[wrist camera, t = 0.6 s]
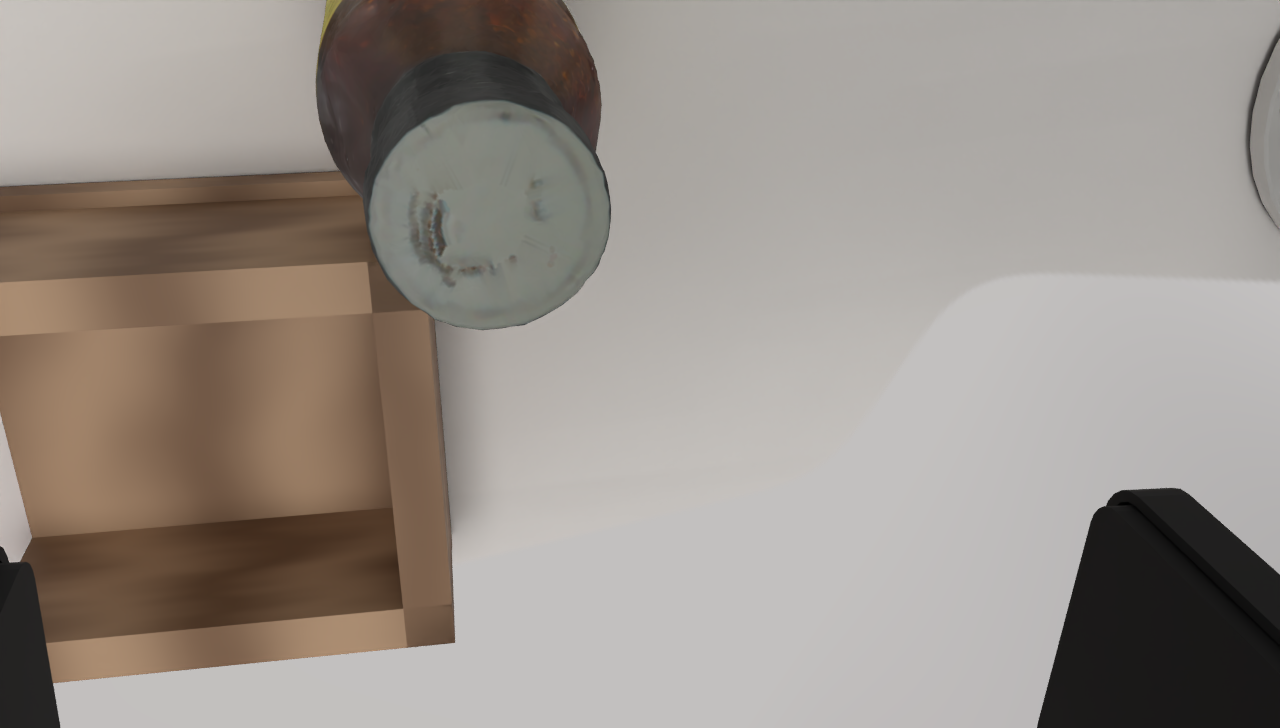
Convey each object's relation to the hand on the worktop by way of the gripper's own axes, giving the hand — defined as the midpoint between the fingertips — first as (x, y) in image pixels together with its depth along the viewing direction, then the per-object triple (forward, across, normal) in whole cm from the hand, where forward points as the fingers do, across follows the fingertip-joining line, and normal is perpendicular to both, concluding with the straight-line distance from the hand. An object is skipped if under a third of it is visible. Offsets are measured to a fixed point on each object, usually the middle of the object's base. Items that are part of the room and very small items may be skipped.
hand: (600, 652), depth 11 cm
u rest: (+31, +7, +12) cm, 33 cm away
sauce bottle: (+31, 0, 0) cm, 31 cm away
